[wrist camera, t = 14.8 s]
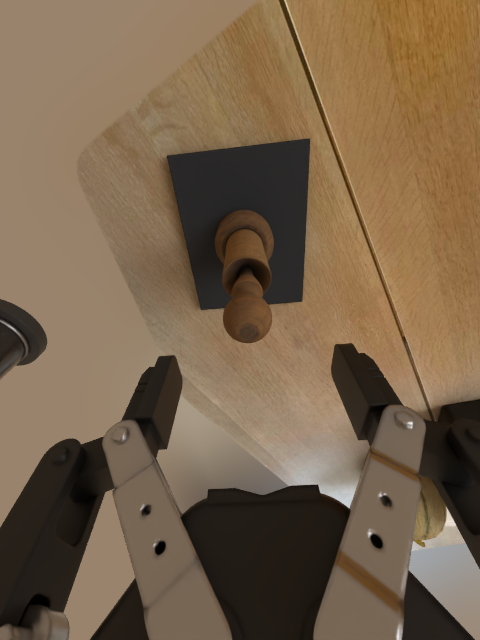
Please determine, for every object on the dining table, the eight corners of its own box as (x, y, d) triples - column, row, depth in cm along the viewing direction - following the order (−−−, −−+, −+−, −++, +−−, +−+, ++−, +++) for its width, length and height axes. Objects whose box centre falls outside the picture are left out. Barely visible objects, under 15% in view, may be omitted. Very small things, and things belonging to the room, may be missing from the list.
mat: (201, 306, 35) (200, 310, 34) (169, 155, 25) (166, 155, 24) (300, 298, 34) (302, 301, 34) (307, 138, 24) (310, 138, 24)
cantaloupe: (407, 436, 54) (457, 522, 41) (426, 463, 60) (475, 544, 48) (343, 458, 59) (371, 540, 46) (368, 481, 65) (398, 558, 53)
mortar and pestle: (283, 240, 29) (329, 334, 14) (243, 276, 32) (246, 387, 17) (245, 195, 26) (250, 252, 11) (204, 238, 29) (166, 330, 14)
